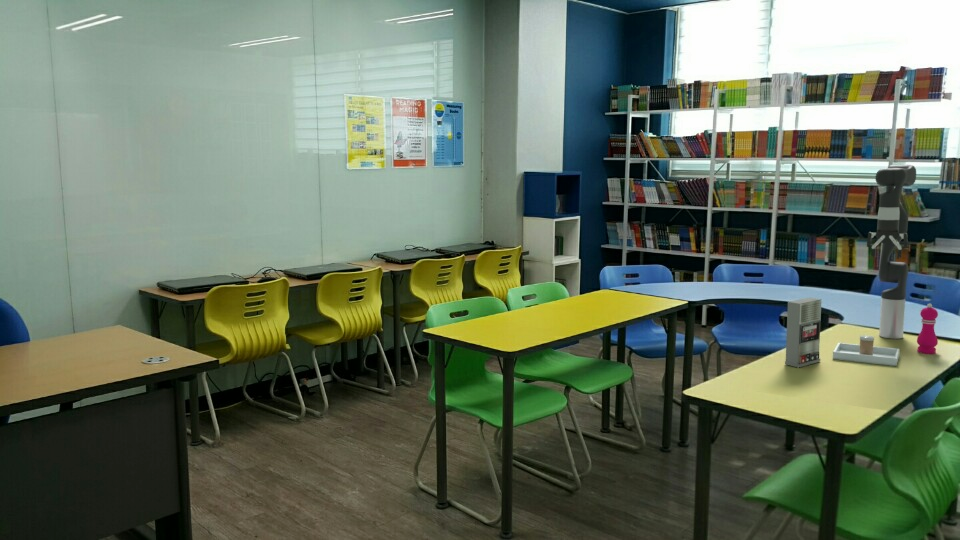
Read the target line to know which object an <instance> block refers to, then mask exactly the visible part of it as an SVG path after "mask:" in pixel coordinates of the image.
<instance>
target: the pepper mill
mask: <svg viewBox="0 0 960 540" xmlns="http://www.w3.org/2000/svg"><path fill="white" fill-rule="evenodd" d="M938 316H939V312H938V310H937V309H936V308H933V305H932V303H927V306H926V307H923V308H922V309H921V310H920V317H921V324H922V325H921V331H920V332H919V334H918V336H917V339H916V343H917V345H918V346H917V352H918V353H920V354H926V355H934V354H936V352H937V348H936V347H937V345H938V344H939V343H938V341H939V339H938V337H937V335H936V333H935V325H936V323H937V322H936V321H937V320H936V319H937V318H938Z"/></svg>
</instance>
